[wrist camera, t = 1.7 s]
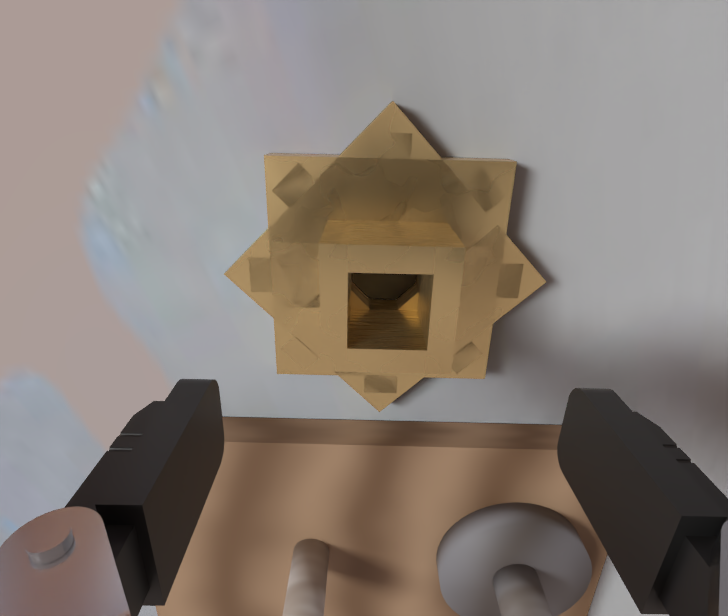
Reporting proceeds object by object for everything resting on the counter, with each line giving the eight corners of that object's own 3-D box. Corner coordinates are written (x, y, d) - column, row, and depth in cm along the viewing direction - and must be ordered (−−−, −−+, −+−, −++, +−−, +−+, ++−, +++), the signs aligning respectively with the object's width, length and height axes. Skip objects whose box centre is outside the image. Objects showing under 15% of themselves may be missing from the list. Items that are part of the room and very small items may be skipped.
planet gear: (567, 106, 18) (634, 103, 14) (513, 401, 24) (548, 470, 19) (215, 97, 18) (164, 91, 14) (243, 394, 24) (214, 462, 19)
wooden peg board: (620, 426, 24) (710, 538, 18) (565, 610, 30) (618, 744, 24) (135, 414, 24) (51, 522, 18) (174, 601, 30) (122, 733, 24)
